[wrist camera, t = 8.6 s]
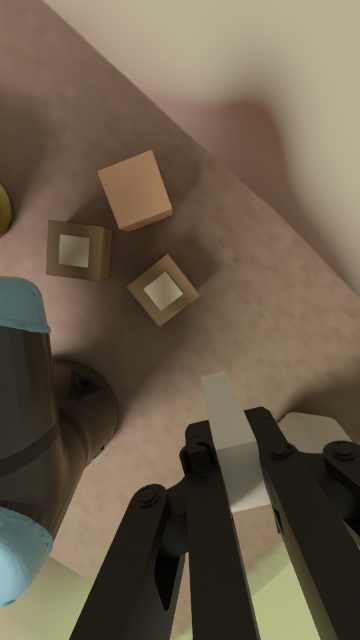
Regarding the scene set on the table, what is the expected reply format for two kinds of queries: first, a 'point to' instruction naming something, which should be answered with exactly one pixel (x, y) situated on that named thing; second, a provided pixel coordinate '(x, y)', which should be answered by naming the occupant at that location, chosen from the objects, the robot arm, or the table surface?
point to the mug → (4, 211)
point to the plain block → (136, 192)
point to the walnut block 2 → (163, 290)
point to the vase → (311, 431)
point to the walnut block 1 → (78, 250)
